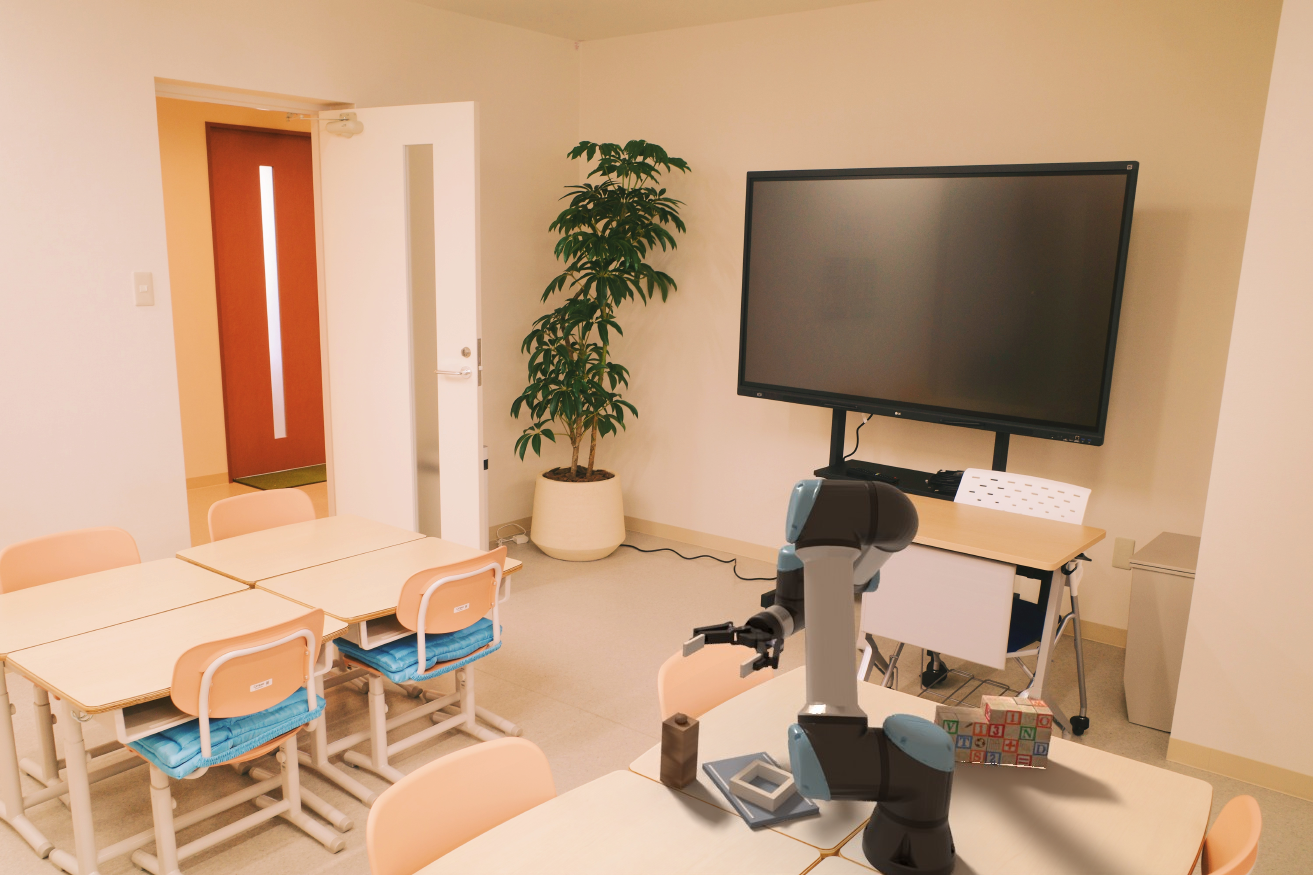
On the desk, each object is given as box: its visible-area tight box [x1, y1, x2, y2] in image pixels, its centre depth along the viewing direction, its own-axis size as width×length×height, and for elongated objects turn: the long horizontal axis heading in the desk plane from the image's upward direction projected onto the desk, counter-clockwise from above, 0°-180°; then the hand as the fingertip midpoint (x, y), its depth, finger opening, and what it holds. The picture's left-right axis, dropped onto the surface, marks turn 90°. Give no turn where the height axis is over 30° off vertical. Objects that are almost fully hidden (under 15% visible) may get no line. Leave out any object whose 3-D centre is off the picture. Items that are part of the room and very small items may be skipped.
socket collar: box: [729, 759, 798, 812], centre depth 164 cm, size 9×9×2 cm
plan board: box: [701, 751, 820, 829], centre depth 167 cm, size 20×14×1 cm
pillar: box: [659, 712, 700, 791], centre depth 168 cm, size 5×5×13 cm
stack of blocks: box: [933, 694, 1054, 769], centre depth 180 cm, size 21×6×12 cm, turn 85°
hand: (712, 660), depth 173 cm, fingers open, 13 cm apart
